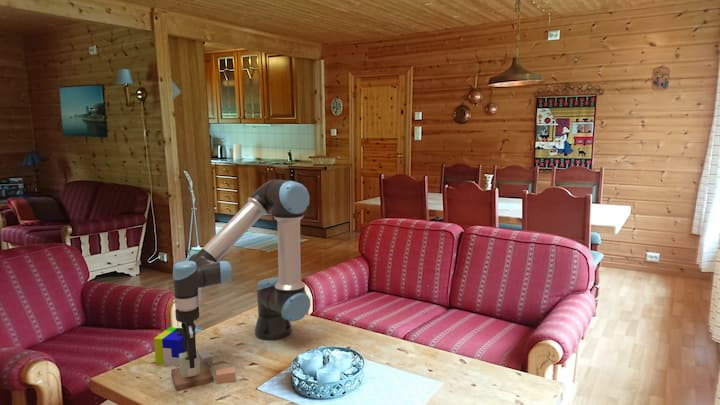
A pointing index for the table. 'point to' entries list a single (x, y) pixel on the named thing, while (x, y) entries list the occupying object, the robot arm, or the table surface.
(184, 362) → the sage brick
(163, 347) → the puzzle toy
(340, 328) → the table surface
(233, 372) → the terracotta brick
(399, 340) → the table surface
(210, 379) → the walnut slab
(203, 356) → the grey brick
